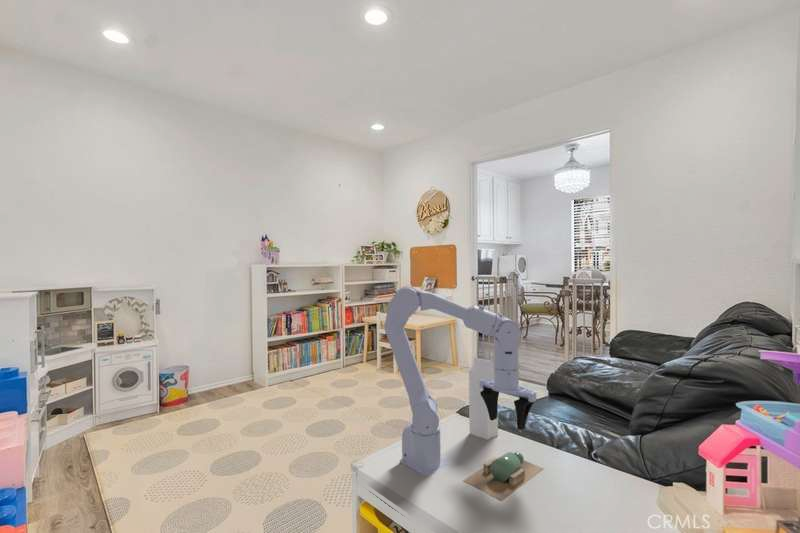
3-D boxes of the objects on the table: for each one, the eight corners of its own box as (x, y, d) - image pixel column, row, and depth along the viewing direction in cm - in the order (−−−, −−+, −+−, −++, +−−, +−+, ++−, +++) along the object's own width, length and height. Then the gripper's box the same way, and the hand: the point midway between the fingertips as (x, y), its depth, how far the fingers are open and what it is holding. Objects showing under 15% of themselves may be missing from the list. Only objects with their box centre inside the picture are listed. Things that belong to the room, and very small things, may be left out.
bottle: (492, 456, 85) (514, 443, 91) (488, 473, 86) (510, 458, 92) (509, 469, 82) (531, 454, 88) (504, 486, 83) (526, 470, 89)
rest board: (462, 483, 84) (462, 472, 84) (506, 455, 96) (506, 446, 96) (501, 503, 77) (501, 492, 77) (543, 471, 89) (543, 460, 89)
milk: (487, 442, 104) (486, 362, 104) (469, 435, 108) (468, 359, 108) (498, 434, 108) (497, 358, 108) (480, 428, 112) (479, 355, 112)
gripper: (542, 370, 88) (543, 428, 88) (490, 359, 99) (491, 411, 99) (527, 376, 84) (527, 437, 84) (474, 364, 94) (474, 418, 94)
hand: (506, 423), depth 91 cm, fingers open, 7 cm apart
